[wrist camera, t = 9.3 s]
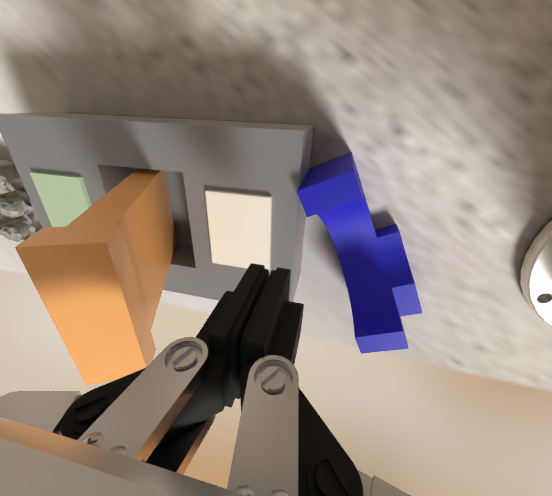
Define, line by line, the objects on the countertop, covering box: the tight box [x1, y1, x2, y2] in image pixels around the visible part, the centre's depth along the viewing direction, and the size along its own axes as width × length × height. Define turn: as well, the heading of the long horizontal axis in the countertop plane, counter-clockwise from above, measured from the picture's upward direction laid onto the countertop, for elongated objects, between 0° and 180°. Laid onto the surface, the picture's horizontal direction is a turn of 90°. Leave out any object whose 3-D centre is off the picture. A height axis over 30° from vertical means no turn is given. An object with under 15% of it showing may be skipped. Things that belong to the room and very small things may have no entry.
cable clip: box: [297, 152, 422, 353], centre depth 17 cm, size 12×4×6 cm, turn 25°
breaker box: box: [0, 113, 314, 302], centre depth 20 cm, size 20×12×5 cm, turn 89°
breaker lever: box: [15, 168, 177, 385], centre depth 14 cm, size 2×6×12 cm, turn 177°
